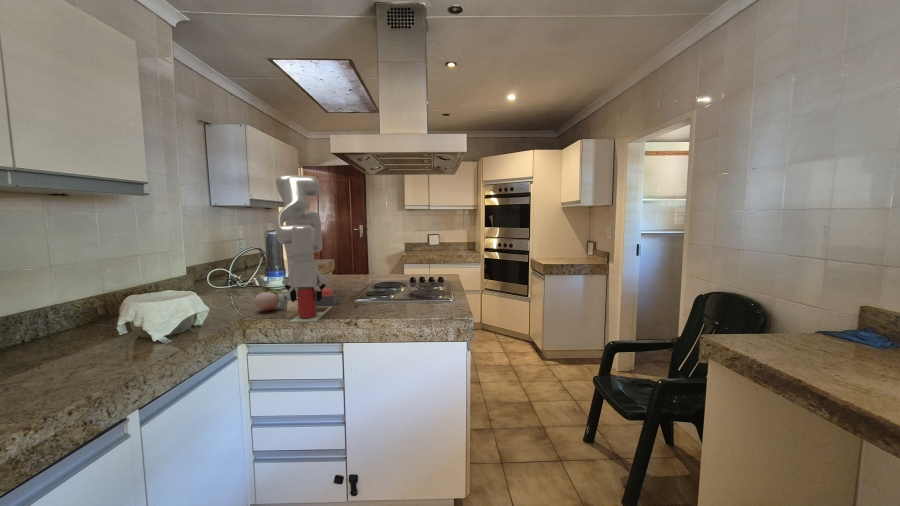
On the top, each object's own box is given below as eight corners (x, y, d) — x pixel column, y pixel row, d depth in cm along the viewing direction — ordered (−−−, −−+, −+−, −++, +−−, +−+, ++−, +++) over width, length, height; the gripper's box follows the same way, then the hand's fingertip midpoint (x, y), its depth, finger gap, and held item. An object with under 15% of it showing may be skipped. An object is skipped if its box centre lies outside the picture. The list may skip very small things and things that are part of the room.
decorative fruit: (253, 315, 138) (251, 291, 136) (258, 310, 145) (256, 287, 144) (279, 312, 140) (277, 289, 139) (282, 307, 148) (280, 285, 147)
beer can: (319, 316, 132) (318, 286, 131) (303, 320, 127) (301, 289, 126) (312, 313, 137) (310, 284, 135) (296, 317, 132) (293, 287, 131)
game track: (289, 322, 127) (288, 310, 126) (316, 302, 157) (316, 292, 156) (316, 321, 127) (315, 309, 127) (338, 301, 157) (337, 292, 157)
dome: (317, 302, 149) (316, 289, 149) (322, 299, 156) (321, 286, 155) (331, 302, 150) (330, 288, 149) (335, 298, 156) (334, 285, 155)
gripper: (276, 259, 125) (280, 304, 127) (323, 258, 126) (326, 302, 128) (284, 257, 133) (288, 299, 135) (329, 256, 134) (331, 297, 136)
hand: (306, 300), depth 132 cm, fingers open, 9 cm apart
